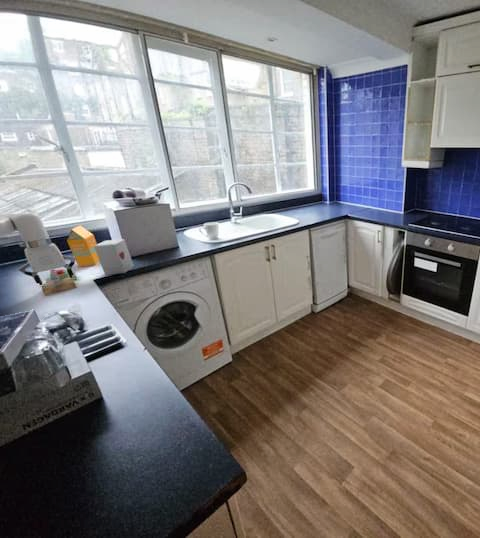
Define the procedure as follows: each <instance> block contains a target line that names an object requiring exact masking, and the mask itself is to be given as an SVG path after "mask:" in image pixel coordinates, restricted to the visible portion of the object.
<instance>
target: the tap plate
mask: <svg viewBox="0 0 480 538" xmlns="http://www.w3.org/2000/svg"><path fill="white" fill-rule="evenodd" d="M74 279H75V278H74ZM74 279H73V278H70V277H69V278H65V279H61V280H60V285H56V286H55V284H54V282H53V281H52V282H48V283H46V282H44V283H42V285H40V288H41V291H42V293H43V295H44V296H50V295H53V294H58V293H61V292H66V291H69V290H73V289H77V284H76V280H75V281H74Z"/></svg>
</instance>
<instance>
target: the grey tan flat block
mask: <svg viewBox="0 0 480 538" xmlns="http://www.w3.org/2000/svg"><path fill="white" fill-rule="evenodd" d="M56 270H57V269H51V270H49V277H50V276H51V278H52V280H53V282H54V284H55V286H56V285H60V279H59V277H58V274H57V272H56Z"/></svg>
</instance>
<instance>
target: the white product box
mask: <svg viewBox="0 0 480 538" xmlns="http://www.w3.org/2000/svg"><path fill="white" fill-rule="evenodd" d="M94 248H95V251H96V253H97V256H98V258H99V261H100V262H99V263H100V266H101V269H102V270H103V273H104V276H105V275H106V276H107V275H118V274H120V275H121V274H125V273H127V272H128V271H130V270H131V269H133V268H134V267H135V266H134V262H133V259H132V257H131V254H130V251H129V249H128V246H127V243H126V240H125V239H124V238H123V239H121V238H120V239H109V240H108V239H107V240H103V241H102V242H99V243H97V245H95V246H94Z"/></svg>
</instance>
